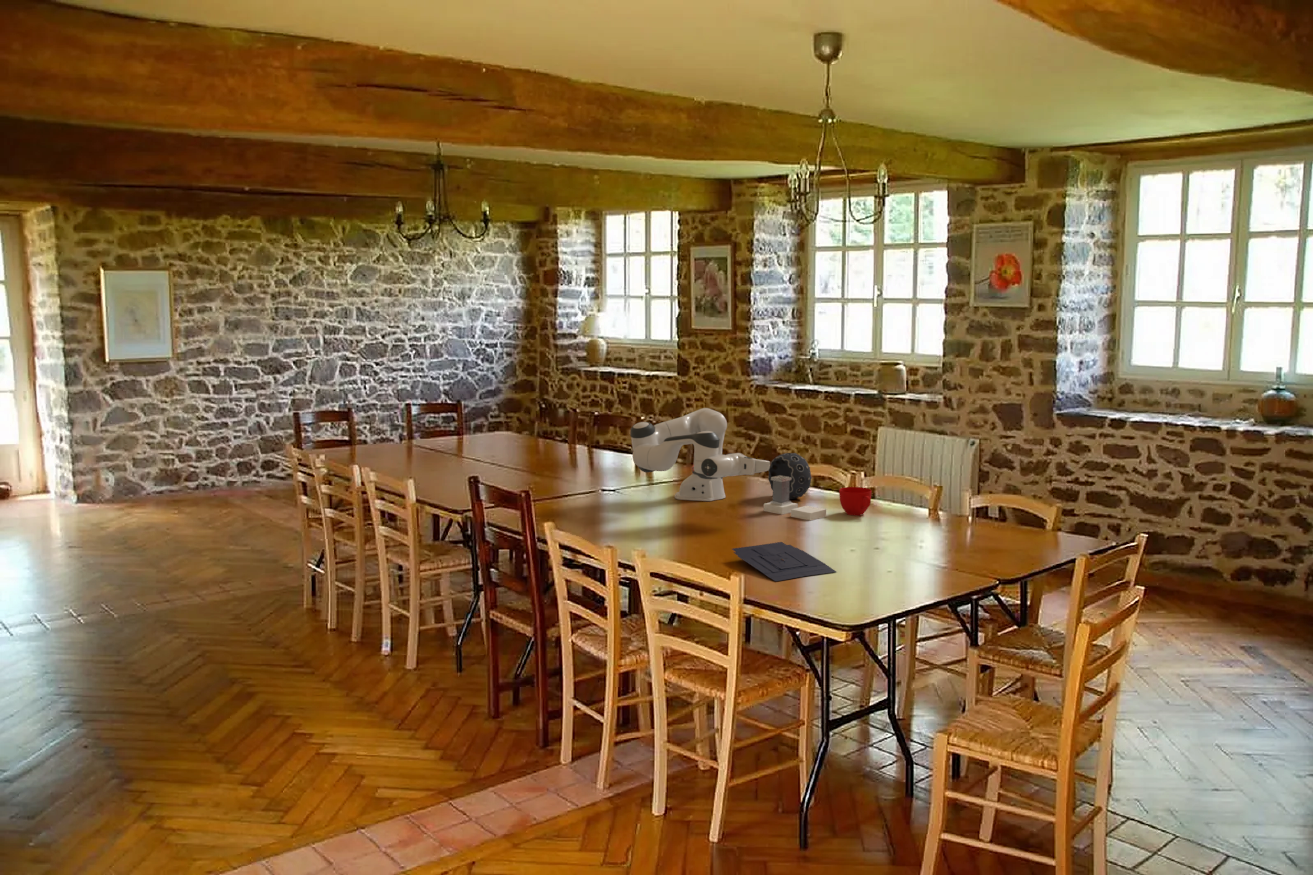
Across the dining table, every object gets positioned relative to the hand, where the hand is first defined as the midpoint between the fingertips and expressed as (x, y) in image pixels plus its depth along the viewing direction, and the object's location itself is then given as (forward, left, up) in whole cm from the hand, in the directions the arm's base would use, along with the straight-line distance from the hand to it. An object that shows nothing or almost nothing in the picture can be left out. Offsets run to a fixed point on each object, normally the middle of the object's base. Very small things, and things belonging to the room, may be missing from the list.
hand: (759, 461), depth 423 cm
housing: (+9, +10, -19) cm, 23 cm away
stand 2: (+20, 0, -22) cm, 30 cm away
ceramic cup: (+40, +5, -22) cm, 46 cm away
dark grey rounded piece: (+13, +36, -22) cm, 44 cm away
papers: (+8, -77, -23) cm, 81 cm away
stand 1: (+9, +10, -22) cm, 26 cm away
